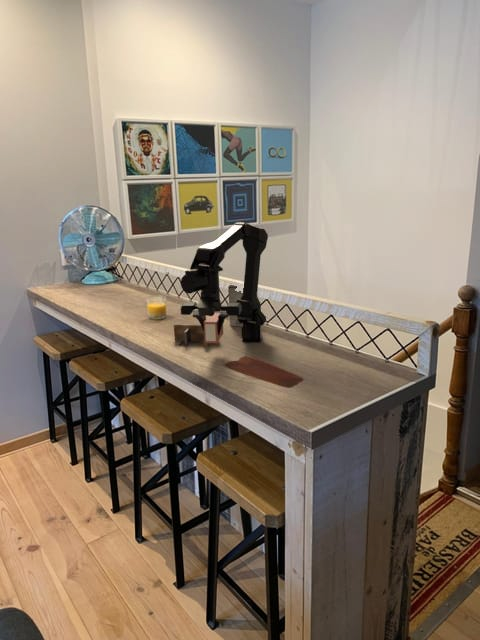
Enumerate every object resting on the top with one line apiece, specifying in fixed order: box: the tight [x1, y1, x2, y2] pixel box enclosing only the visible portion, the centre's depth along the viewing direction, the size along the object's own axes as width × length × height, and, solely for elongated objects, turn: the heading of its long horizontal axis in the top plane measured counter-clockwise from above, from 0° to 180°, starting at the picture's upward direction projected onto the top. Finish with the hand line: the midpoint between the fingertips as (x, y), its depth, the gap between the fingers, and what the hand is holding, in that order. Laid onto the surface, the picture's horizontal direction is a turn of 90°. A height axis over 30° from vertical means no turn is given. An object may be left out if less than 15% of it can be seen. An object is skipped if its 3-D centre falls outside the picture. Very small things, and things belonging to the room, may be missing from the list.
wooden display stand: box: [173, 323, 211, 347], centre depth 174 cm, size 16×6×6 cm, turn 81°
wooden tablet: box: [224, 355, 305, 388], centre depth 147 cm, size 27×10×2 cm, turn 43°
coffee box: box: [227, 284, 243, 327], centre depth 195 cm, size 9×6×16 cm
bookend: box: [178, 328, 192, 347], centre depth 175 cm, size 3×6×5 cm, turn 171°
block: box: [204, 312, 224, 344], centre depth 160 cm, size 4×10×7 cm, turn 170°
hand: (212, 334), depth 158 cm, fingers closed on block, 4 cm apart
